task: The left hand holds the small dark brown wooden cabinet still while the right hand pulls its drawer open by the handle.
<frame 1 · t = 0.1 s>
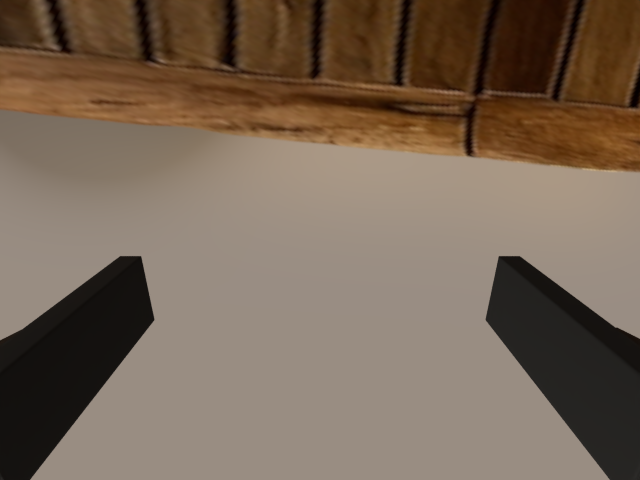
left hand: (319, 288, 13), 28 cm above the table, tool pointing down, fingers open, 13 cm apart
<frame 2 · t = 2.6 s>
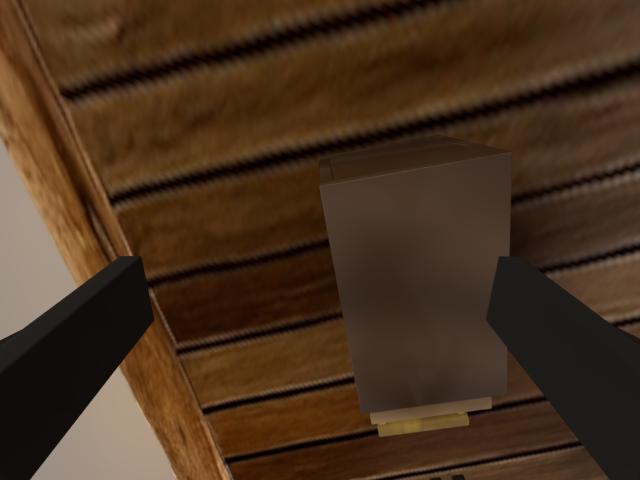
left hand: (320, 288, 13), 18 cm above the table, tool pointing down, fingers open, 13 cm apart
cabinet: (389, 237, 31), on the table
drawer: (409, 325, 28), point 6 cm above the table, slide at 1.0 cm
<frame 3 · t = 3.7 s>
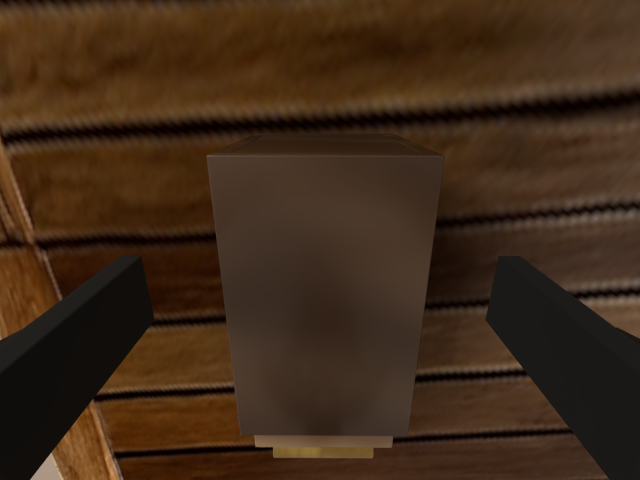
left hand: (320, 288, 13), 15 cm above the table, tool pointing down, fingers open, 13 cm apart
cabinet: (323, 238, 28), on the table
drawer: (323, 340, 25), point 6 cm above the table, slide at 1.0 cm
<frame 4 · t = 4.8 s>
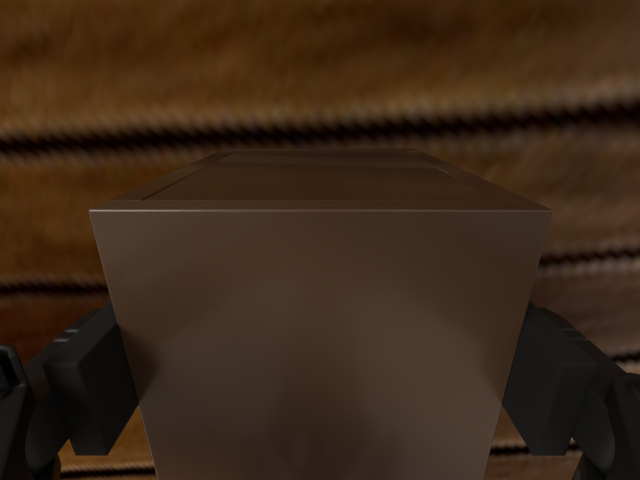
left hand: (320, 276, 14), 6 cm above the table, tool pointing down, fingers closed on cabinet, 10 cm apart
cabinet: (320, 286, 21), on the table, touching left hand
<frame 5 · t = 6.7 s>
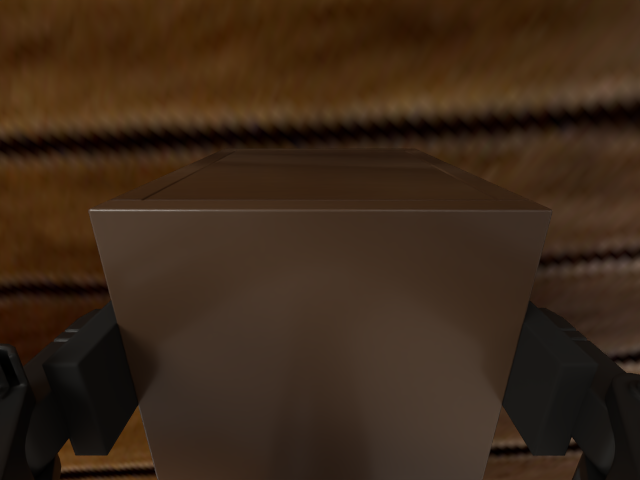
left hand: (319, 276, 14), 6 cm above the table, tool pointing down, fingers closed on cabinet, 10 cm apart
cabinet: (320, 286, 21), on the table, touching left hand
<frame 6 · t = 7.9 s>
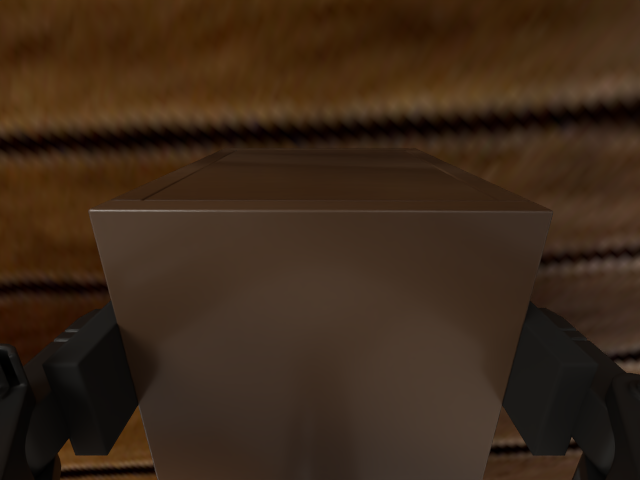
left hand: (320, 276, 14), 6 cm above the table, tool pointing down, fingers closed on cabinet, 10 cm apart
cabinet: (320, 286, 21), on the table, touching left hand
when the left hand's fingers open (6 cm above the table, at t = 9.4 s): cabinet stays where it is, on the table.
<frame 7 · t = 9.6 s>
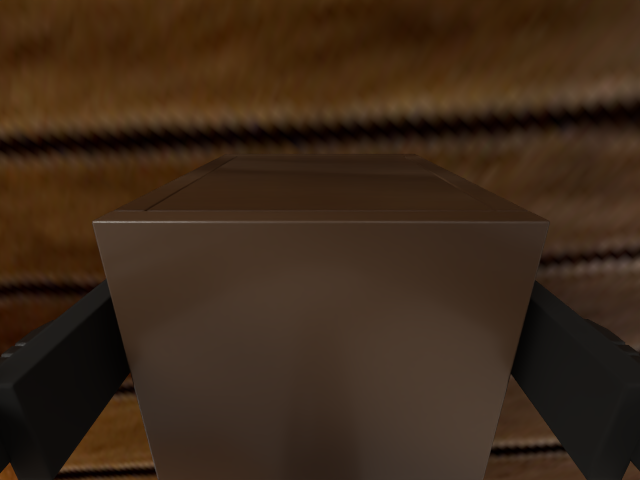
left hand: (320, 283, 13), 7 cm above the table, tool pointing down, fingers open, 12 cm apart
cabinet: (320, 290, 21), on the table
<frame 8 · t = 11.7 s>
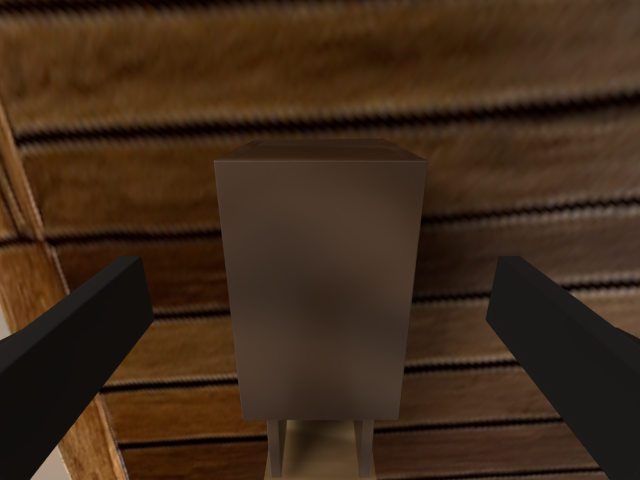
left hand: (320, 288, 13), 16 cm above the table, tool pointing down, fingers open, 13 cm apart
cabinet: (320, 237, 30), on the table
drawer: (320, 405, 29), point 6 cm above the table, slide at 8.5 cm
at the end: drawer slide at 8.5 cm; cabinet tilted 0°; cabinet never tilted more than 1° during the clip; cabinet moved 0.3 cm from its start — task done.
